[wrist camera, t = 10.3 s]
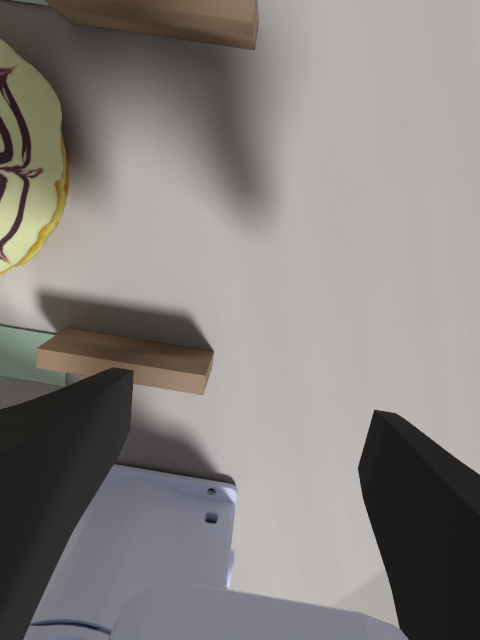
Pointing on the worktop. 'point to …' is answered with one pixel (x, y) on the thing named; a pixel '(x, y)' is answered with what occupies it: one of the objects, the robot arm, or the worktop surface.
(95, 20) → the tunnel walls
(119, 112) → the worktop surface
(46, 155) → the decorated donut
